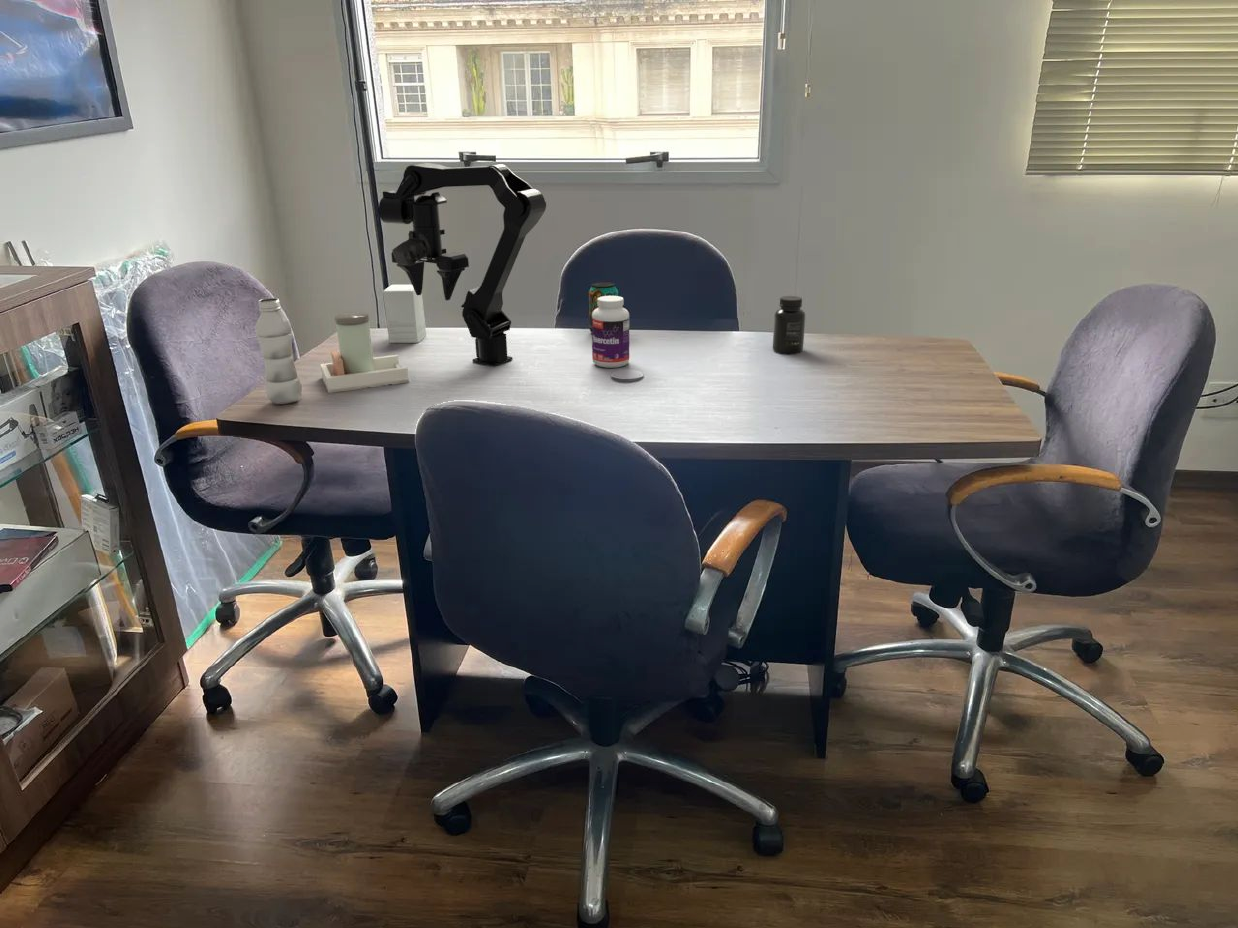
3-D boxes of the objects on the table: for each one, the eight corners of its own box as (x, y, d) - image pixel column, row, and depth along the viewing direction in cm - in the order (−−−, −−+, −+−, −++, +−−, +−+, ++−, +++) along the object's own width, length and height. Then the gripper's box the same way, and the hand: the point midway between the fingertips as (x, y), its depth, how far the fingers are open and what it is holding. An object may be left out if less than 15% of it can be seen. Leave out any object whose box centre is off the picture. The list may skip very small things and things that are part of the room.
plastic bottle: (310, 398, 174) (295, 297, 166) (288, 409, 168) (271, 305, 161) (283, 395, 176) (266, 295, 168) (260, 406, 170) (241, 303, 163)
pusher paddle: (340, 373, 186) (336, 350, 184) (345, 384, 179) (342, 360, 177) (334, 374, 186) (330, 350, 184) (339, 385, 179) (336, 361, 177)
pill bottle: (586, 367, 192) (584, 301, 186) (601, 357, 198) (599, 293, 193) (621, 371, 189) (620, 303, 183) (635, 360, 196) (634, 295, 190)
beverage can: (587, 336, 215) (586, 286, 210) (592, 329, 221) (591, 280, 217) (615, 337, 214) (615, 287, 209) (620, 329, 220) (620, 281, 215)
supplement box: (427, 335, 217) (422, 284, 212) (418, 343, 211) (412, 290, 206) (398, 335, 218) (392, 283, 213) (387, 343, 211) (381, 290, 206)
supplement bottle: (807, 349, 203) (811, 296, 198) (796, 356, 197) (799, 302, 193) (779, 344, 206) (782, 293, 201) (767, 352, 201) (770, 299, 196)
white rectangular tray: (398, 368, 192) (397, 354, 191) (409, 382, 183) (407, 368, 182) (322, 377, 187) (320, 364, 185) (328, 393, 177) (326, 378, 176)
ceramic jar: (381, 373, 186) (374, 313, 181) (366, 383, 181) (358, 321, 175) (352, 372, 188) (344, 311, 183) (337, 381, 182) (328, 319, 177)
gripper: (368, 226, 190) (376, 299, 196) (428, 234, 180) (435, 310, 186) (408, 220, 198) (415, 290, 204) (467, 227, 188) (473, 300, 194)
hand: (433, 297), depth 197 cm, fingers open, 9 cm apart
